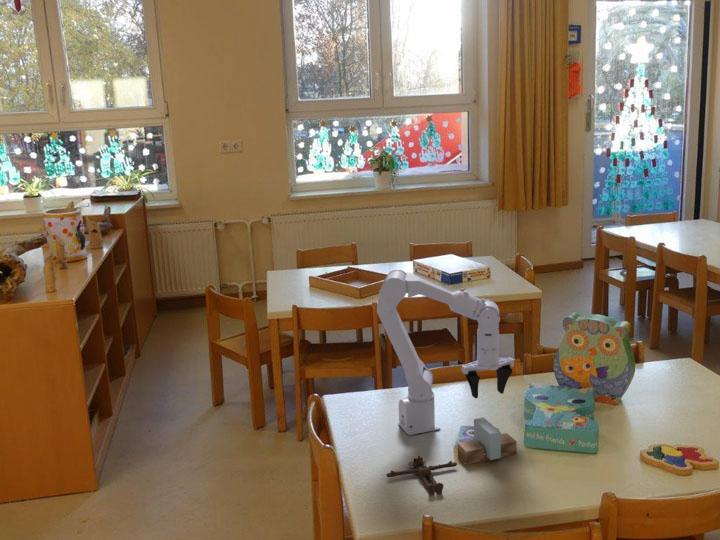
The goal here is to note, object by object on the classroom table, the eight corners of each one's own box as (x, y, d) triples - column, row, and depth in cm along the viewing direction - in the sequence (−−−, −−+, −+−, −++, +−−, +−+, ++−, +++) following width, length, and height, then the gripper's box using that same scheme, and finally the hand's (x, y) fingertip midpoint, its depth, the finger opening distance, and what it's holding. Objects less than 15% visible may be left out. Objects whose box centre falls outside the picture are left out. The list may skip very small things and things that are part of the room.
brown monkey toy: (398, 491, 171) (381, 455, 184) (398, 506, 172) (381, 470, 186) (473, 478, 175) (450, 444, 188) (472, 493, 177) (449, 459, 190)
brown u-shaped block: (466, 464, 187) (466, 451, 186) (457, 455, 191) (457, 442, 190) (516, 453, 191) (516, 441, 190) (506, 445, 195) (506, 432, 195)
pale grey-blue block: (490, 460, 186) (490, 434, 185) (473, 444, 195) (473, 419, 193) (500, 458, 187) (500, 432, 185) (483, 442, 195) (483, 417, 194)
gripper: (469, 355, 193) (469, 404, 197) (520, 347, 198) (519, 395, 201) (457, 347, 200) (458, 394, 203) (506, 339, 204) (506, 386, 208)
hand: (487, 394), depth 203 cm, fingers open, 7 cm apart
